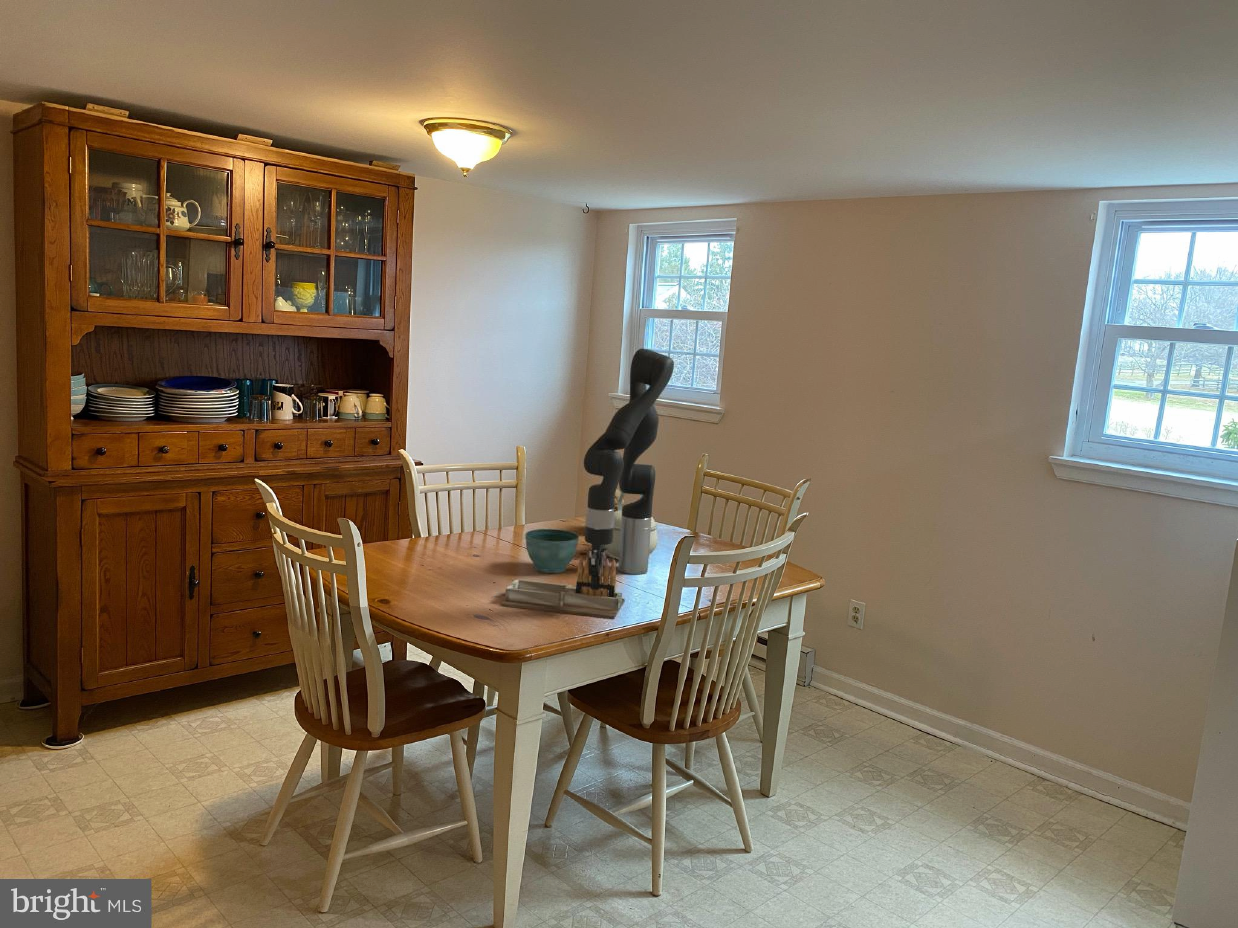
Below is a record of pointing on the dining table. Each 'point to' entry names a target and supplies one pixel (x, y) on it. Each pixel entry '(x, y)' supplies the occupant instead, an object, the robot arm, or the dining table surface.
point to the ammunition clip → (603, 587)
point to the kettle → (614, 546)
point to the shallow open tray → (560, 599)
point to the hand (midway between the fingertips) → (595, 587)
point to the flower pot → (551, 549)
